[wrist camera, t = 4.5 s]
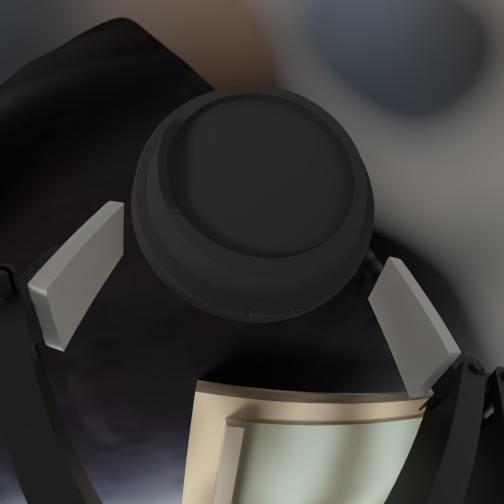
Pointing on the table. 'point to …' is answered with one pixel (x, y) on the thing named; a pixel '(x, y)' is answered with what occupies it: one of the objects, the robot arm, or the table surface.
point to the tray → (297, 445)
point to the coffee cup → (252, 204)
